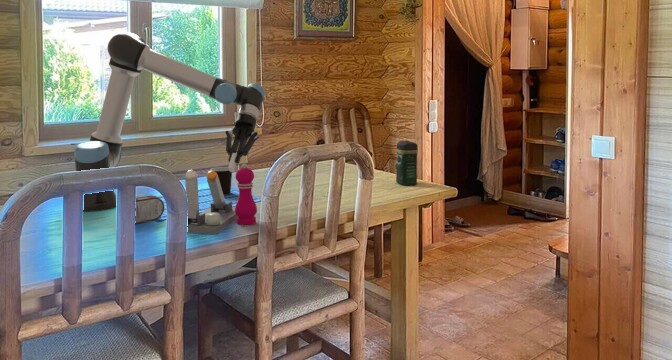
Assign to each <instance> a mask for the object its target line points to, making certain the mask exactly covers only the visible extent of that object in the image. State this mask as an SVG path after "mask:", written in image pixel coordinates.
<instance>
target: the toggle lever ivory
mask: <svg viewBox="0 0 672 360" xmlns="http://www.w3.org/2000/svg"><path fill="white" fill-rule="evenodd" d="M184 177H185V178H184V179H185V180H184V181H185V182H184V183H185V195H186V194H187V198H188V223H197V216H198V215H199V214H200V204H199V203H200V200H199V199H200V198H199V185H198V184H199V182H198V181H199V180H198V174H197V172H196V171H195V170H193V169H189V170H187V171H185V176H184Z"/></svg>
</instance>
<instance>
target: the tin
mask: <svg viewBox="0 0 672 360" xmlns="http://www.w3.org/2000/svg"><path fill="white" fill-rule="evenodd" d="M135 198H136V208H135V211H136V216H135V221H136V223H137V224H142V223H147V222H151V221H152V222H153V221H156V219H157V220H159V219H160V218H161V217H162V215H163V214H164V212H165V203H164V201H163V200H162V199H161V198H160V197H158V196H156V195H146V196H141V197H140V196H139V197H135Z"/></svg>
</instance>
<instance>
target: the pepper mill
mask: <svg viewBox="0 0 672 360" xmlns="http://www.w3.org/2000/svg"><path fill="white" fill-rule="evenodd" d="M254 179H255V174H254V171H253V170H252V169H251V168H248V165H247V163H242V164H241V167H240V168H239V169H237V171H236V172H235V180H236V182H237V188H238V199H237V201H236V204H235V213H236V215H237V216H238V218H237V219H236V225H239V226H252V225H255V224H256V223H257V219H256V218H257V217H256V216H255V215H256V214H257V213H258V207H257V204H256V202H255V200H254V197H253V192H252V191H253V190H252V189H253V187H254V185H253V184H254V183H253V181H254Z"/></svg>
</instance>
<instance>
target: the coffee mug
mask: <svg viewBox="0 0 672 360" xmlns="http://www.w3.org/2000/svg"><path fill="white" fill-rule="evenodd" d="M209 171H215V172H216V173H217V175H218V178H219V181H220V185H221V188H222V191H223V195H224V196H227V195H228V196H229V195H230V194H231V193H232V192H231V191H232V179H233V178H232V177H233V172H230V171H229V169H228V166H220V167H219V166H218V167H212V168H210V170H209Z"/></svg>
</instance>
